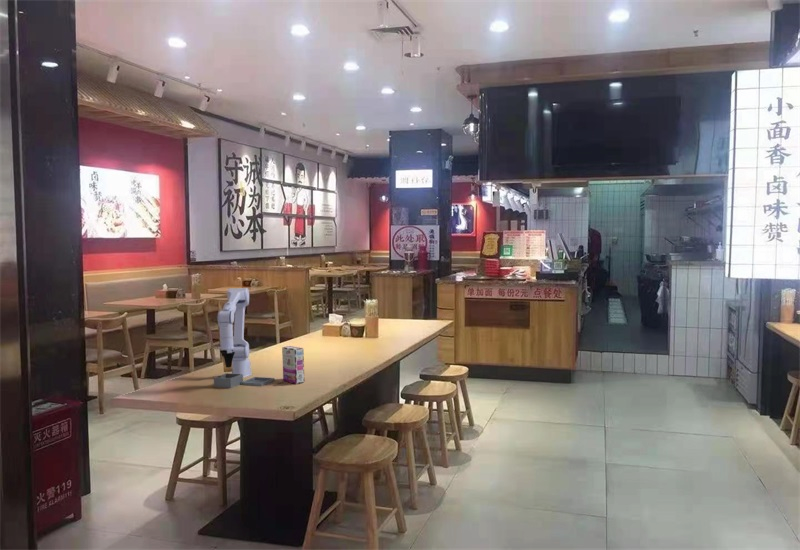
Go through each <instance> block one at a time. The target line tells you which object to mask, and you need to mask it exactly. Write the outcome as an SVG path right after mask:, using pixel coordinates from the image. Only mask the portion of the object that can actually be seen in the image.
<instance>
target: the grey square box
mask: <svg viewBox="0 0 800 550" xmlns="http://www.w3.org/2000/svg"><path fill="white" fill-rule="evenodd" d="M243 381H244V378H243V374H232V372H224V373H223V374H220V375H217V376H214V377H213V388H223V389H233V388H235V387H238V386H240V385H241V382H243ZM241 386H242V385H241Z"/></svg>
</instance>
